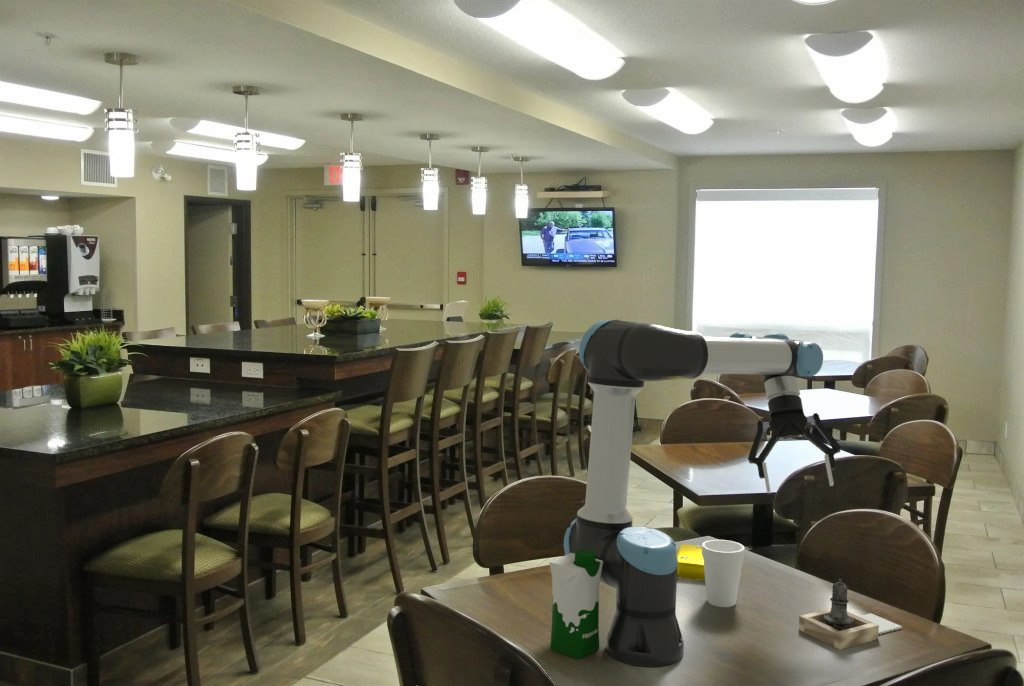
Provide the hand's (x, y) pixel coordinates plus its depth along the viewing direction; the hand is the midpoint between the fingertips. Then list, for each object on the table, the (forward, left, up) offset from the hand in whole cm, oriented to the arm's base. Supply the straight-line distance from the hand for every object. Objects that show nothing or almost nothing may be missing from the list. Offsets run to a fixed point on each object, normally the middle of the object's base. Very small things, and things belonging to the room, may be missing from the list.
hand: (800, 488), depth 202 cm
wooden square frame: (-5, -16, -27) cm, 32 cm away
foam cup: (-14, +9, -27) cm, 32 cm away
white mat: (+6, -16, -27) cm, 32 cm away
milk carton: (-57, +3, -27) cm, 63 cm away
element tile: (-3, +27, -27) cm, 38 cm away
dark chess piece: (-5, -16, -27) cm, 32 cm away
